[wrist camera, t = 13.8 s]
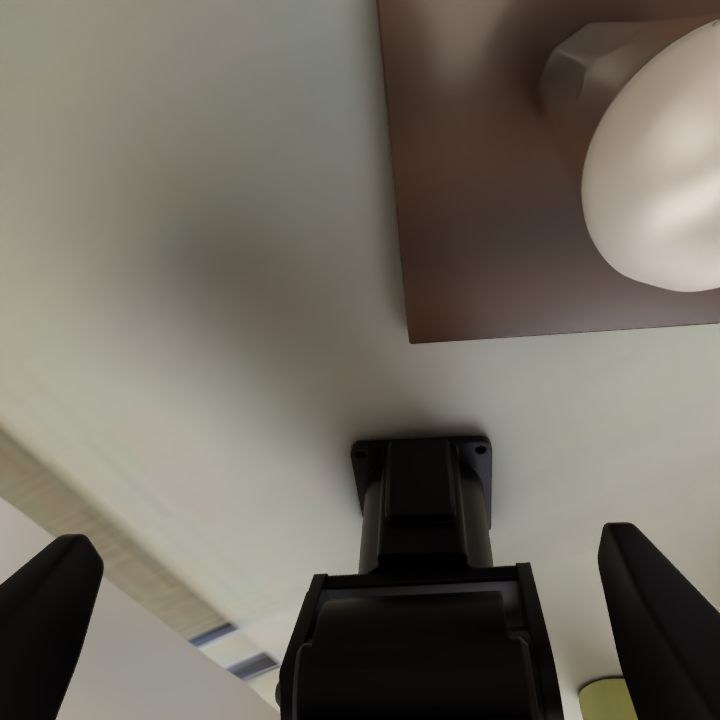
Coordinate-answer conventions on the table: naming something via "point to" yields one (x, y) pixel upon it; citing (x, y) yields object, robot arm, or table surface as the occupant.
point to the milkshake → (642, 143)
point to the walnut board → (502, 176)
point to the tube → (607, 701)
